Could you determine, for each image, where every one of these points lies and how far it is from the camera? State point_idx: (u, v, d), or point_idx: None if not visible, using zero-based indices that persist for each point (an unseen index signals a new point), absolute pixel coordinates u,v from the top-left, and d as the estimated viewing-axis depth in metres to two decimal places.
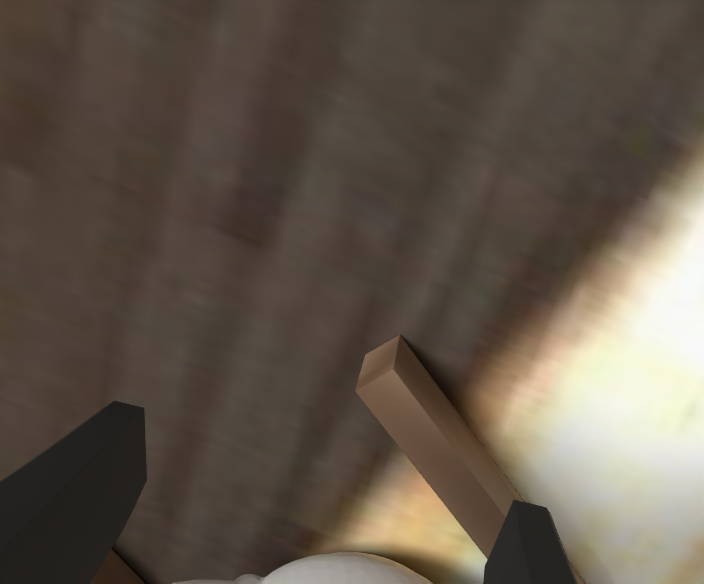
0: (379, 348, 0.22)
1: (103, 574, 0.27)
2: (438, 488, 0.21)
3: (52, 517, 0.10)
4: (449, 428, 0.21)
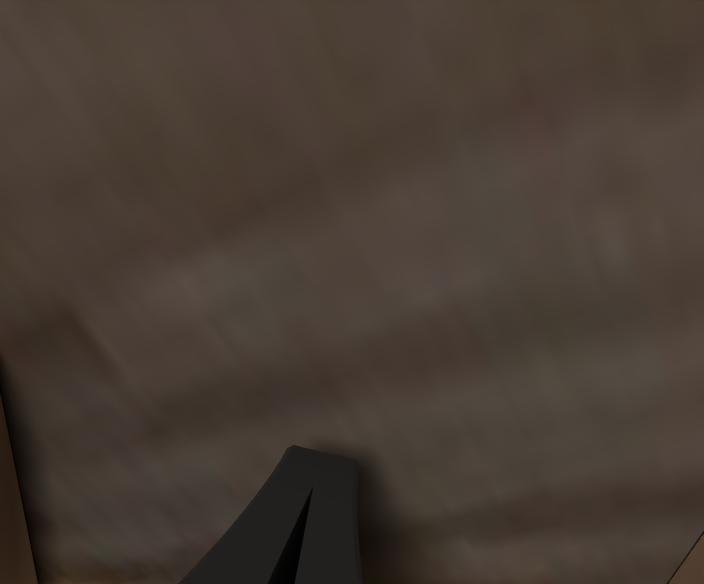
0: None
1: None
2: None
3: (276, 576, 0.09)
4: None
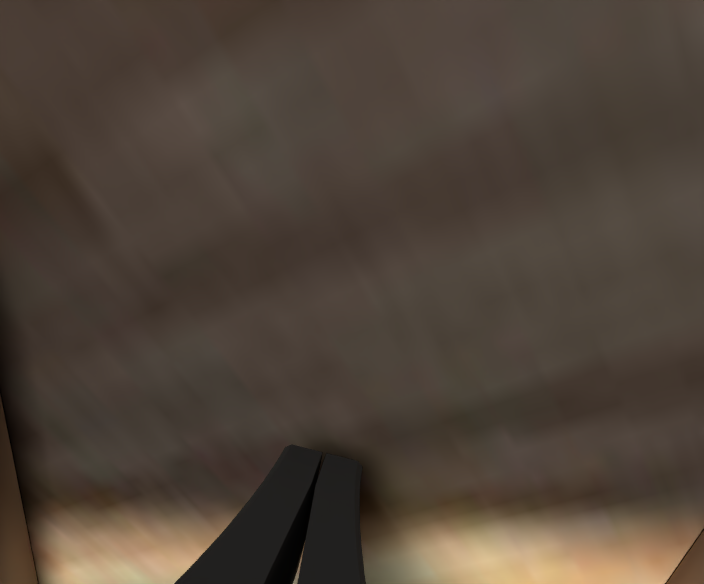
0: None
1: None
2: None
3: (273, 575, 0.09)
4: None
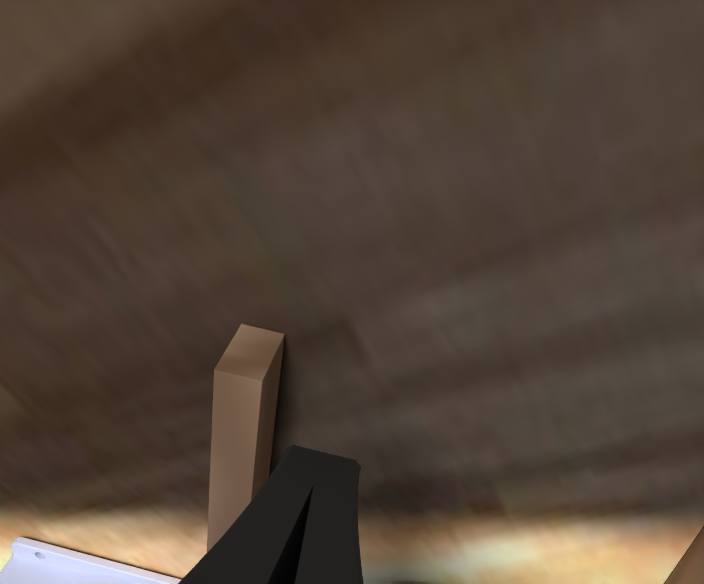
0: None
1: (269, 405, 0.21)
2: None
3: (276, 576, 0.09)
4: None
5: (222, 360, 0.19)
